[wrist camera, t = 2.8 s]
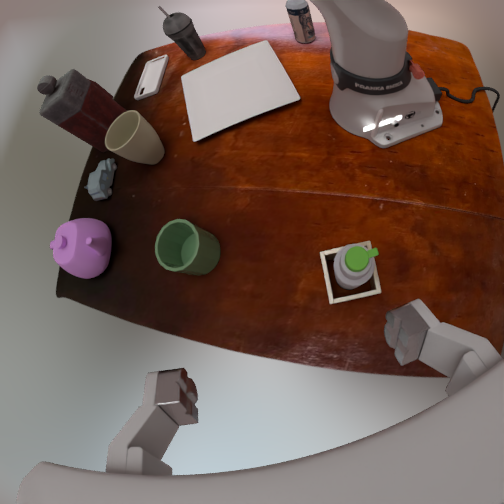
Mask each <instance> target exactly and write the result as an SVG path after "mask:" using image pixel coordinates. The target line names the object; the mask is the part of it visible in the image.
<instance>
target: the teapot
mask: <svg viewBox="0 0 504 504" xmlns="http://www.w3.org/2000/svg"><path fill="white" fill-rule="evenodd" d="M111 245H112V237H111V233H110V230H109V228H108V226H107V225H106V224H105V223H103V222H102V221H100V220H96V219H91V218H81V219H76V220H72V221H69V222H66V223H64V224H62V225H61V226H60V227H59V228H58V229H57V231H56V235H55V240H54V241H51V243H50V249H53V257H54V260H55V261H56V262H57V263H58V264H59V265H60V266H61V267H62V268H63V269H64V270H66V271H67V272H69V273H71V274H72V275H74V276H77V277H80V278H85V279H89V278H93V277H96V276H98V275H99V274H101V273H102V272H103V271H104V270H105V269H106V268H107V266H108V264H109V260H110V255H111Z"/></svg>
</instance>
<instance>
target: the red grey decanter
mask: <svg viewBox="0 0 504 504" xmlns="http://www.w3.org/2000/svg"><path fill="white" fill-rule="evenodd" d="M37 89H38V91H39V92H40V93H42V94H45V95H46V98H45V100H44V102H43V105H42V107H41V109H40V115H41V116H43V117H45V118H46V119H48V120H50V121H51V122H53V123H55V124H56V125H58V126H60V127H61V128H63V129H65V130H66V131H68V132H70V133H71V134H73V135H75V136H76V137H78V138H80V139H81V140H83V141H85V142H86V143H88V144H90V145H92V146H93V147H95V148H96V149H98V150H100V151H101V152H105V151H108V150H109V149H107V147H106V145H105V137H106V134H107V131H108V129H109V127H110V126H111V124H112V123H113V122H114V120H115V119H116V118H117V117H119V116H120V115H121V114H122V113H124V112H127V111H126V110H125V109H124V108H123V107H121V106H120V105H119V104H118V103H116V102H115V101H114V100H113V96H112V95H111V94H109V93H108V92H107V91H106V90H105V89H103V88H102V87H101V86H100V85H99V84H97V83H96V82H94V81H91V80H89V79H86V78H85V77H84V76H83V75H82V74H80V73H79V72H78V71H76V70H74V69H72V70H71V71H69V72H68V73H66V74H65V75H64V76H62V77H61V78H60V79H59V80H56V79H55V78H54V77H53V76H44V77H42V79H41V81H40V82H39V84H38V87H37Z"/></svg>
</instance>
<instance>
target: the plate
mask: <svg viewBox="0 0 504 504" xmlns="http://www.w3.org/2000/svg"><path fill="white" fill-rule="evenodd" d="M181 79H182V84H183V90H184V95H185V101H186V106H187V111H188V116H189V121H190V126H191V131H192V136H193V141H195V142H196V141H198V140H200V139H202V138H205V137H207V136H209V135H211V134H213V133H216V132H218V131H220V130H222V129H225V128H227V127H229V126H232V125H234V124H236V123H239V122H241V121H244V120H246V119H249V118H251V117H254V116H256V115H259V114H261V113H264V112H267V111H269V110H272V109H275V108H278V107H280V106H283V105H286V104H289V103H292V102H295V101H298V100H300V96H299V94H298V93H297V91H296V89H295V87H294V85H293V83H292V82H291V80H290V78H289V76H288V75H287V73H286V71H285V69H284V68H283V66H282V64H281V62H280V61H279V59H278V57H277V56H276V54H275V52H274V51H273V49H272V48H271V46H270V44H269V43H268V41H267V40H265V41H262V42H259V43H256V44H253V45H251V46H248V47H245V48H243V49H240V50H238V51H235V52H233V53H230V54H228V55H225V56H223V57H221V58H219V59H216V60H214V61H212V62H210V63H207V64H205V65H203V66H201V67H199V68H197V69H195V70H193V71H191V72H189V73H187V74H185V75H183V76H182V77H181Z"/></svg>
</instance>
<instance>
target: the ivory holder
mask: <svg viewBox="0 0 504 504" xmlns="http://www.w3.org/2000/svg"><path fill="white" fill-rule="evenodd" d="M357 244H360V245H362V246H364V247H366V248H367V249H368V250H371V249H372V246H371V242H370V241H366V242H361V243H357ZM341 248H342V247H339V248H335V249H331V250H326V251H322V252H320V257H321V261H322V266H323V271H324V276H325V281H326V287H327V292H328V297H329V303H330V304H334V303H339V302H344V301H348V300H353V299H357V298H362V297H366V296H370V295H375V294H379V293H381V288H380V283H379V278H378V273H377V268H376V263H375V259H374V263H375V267H374V272H373V274H372V276H371V278H370V279H369V280H370V285H371V291H367V292H363V293H358V294H354V295H349V296H345V297H340V298H336V299H334V296H333V291H332V286H331V280H330V275H329V270H328V265H327V261H328V260H332V259H334V258H335V256H336V254H337V252H338V251H339V250H340V249H341ZM373 258H374V257H373Z"/></svg>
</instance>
